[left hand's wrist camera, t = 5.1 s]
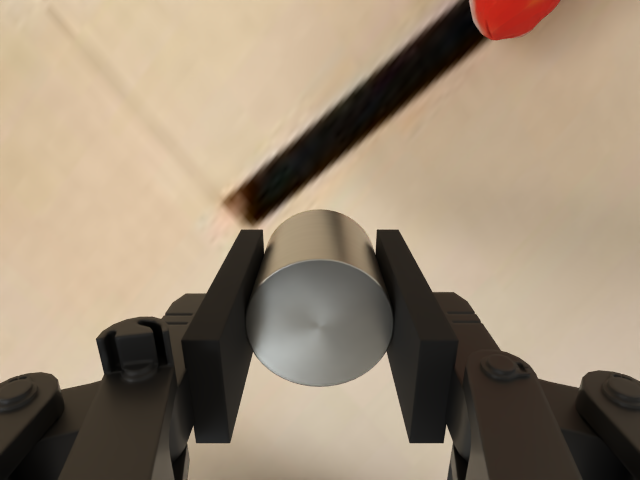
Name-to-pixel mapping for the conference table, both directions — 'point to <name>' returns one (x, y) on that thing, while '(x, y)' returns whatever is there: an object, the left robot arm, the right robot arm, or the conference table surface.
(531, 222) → the conference table surface
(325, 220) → the tin
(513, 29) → the fish
